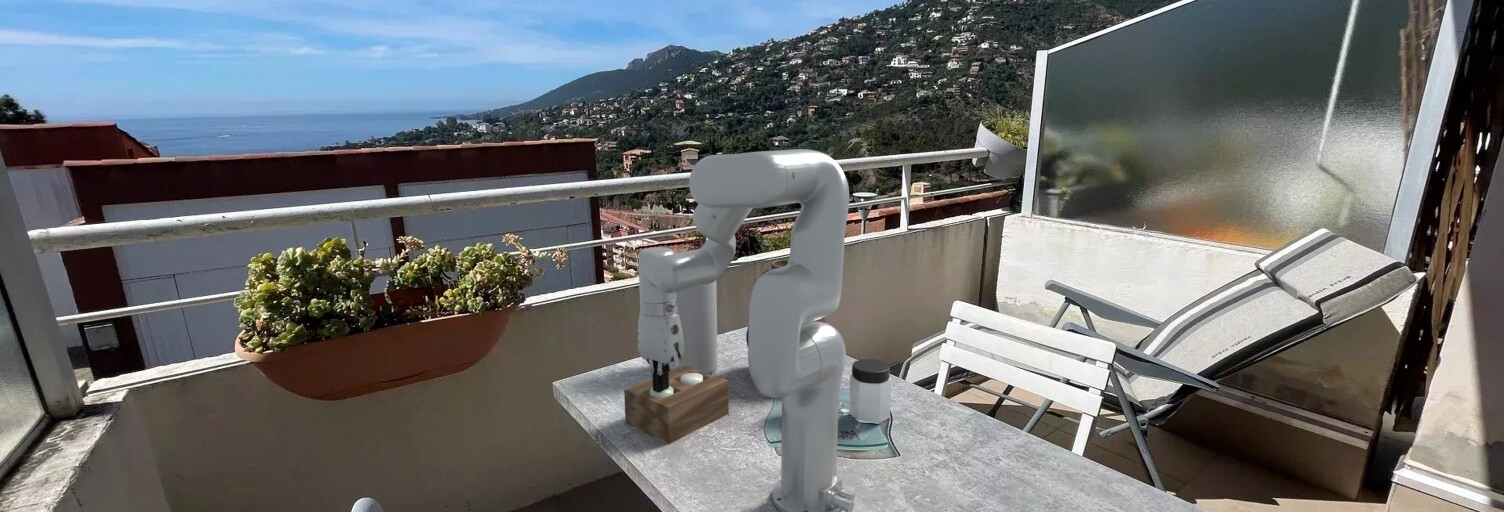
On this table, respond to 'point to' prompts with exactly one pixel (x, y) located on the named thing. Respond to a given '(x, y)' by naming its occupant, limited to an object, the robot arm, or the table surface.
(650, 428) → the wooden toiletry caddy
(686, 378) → the ivory button
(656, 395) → the sage button
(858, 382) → the jar
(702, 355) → the cylinder vase
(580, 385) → the table surface
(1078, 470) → the table surface
